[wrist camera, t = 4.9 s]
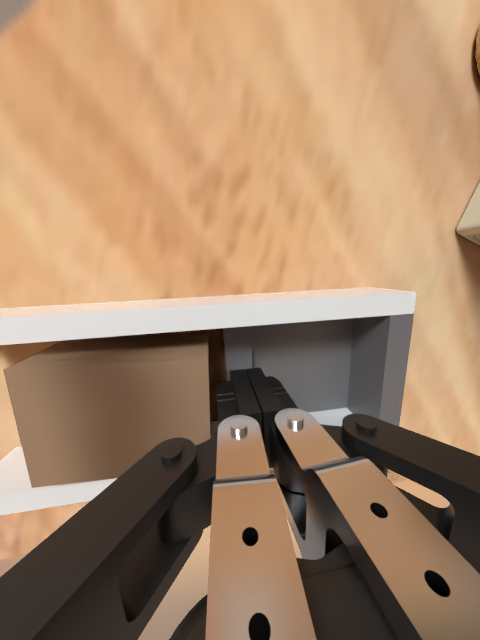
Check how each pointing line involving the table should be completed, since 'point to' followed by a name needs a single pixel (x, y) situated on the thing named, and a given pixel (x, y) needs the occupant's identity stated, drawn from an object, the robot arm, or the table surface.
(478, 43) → the sprinkles bottle
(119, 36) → the table surface
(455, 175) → the table surface
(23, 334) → the trap channel
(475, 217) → the skincare box
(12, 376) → the walnut block
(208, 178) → the table surface
